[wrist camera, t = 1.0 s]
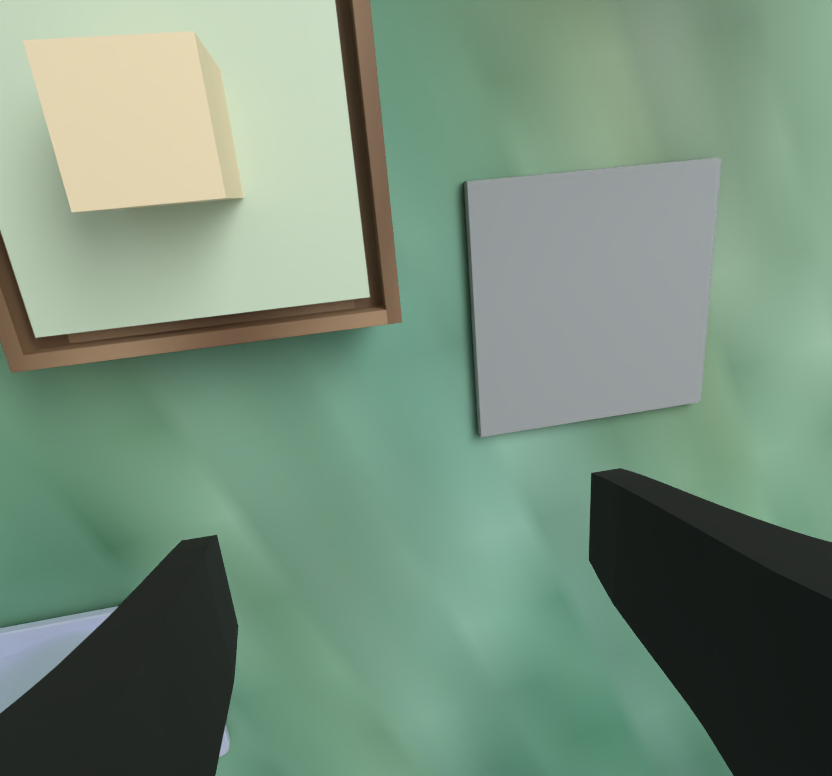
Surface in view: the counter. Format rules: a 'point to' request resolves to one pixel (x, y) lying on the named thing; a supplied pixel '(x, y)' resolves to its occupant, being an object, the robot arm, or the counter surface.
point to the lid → (175, 160)
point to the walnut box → (10, 324)
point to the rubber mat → (589, 291)
